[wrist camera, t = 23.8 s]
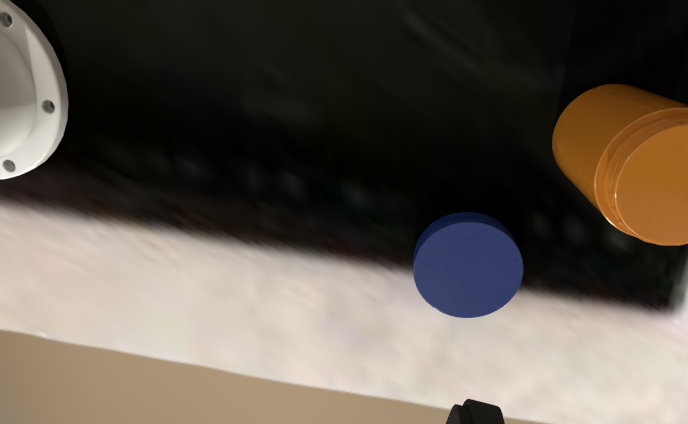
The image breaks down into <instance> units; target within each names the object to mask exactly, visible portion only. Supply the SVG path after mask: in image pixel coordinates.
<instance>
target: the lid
mask: <svg viewBox="0 0 688 424" xmlns="http://www.w3.org/2000/svg"><path fill="white" fill-rule="evenodd" d="M413 267H414V280H415V283H416V286H417V289H418V291H419V293H420V294H421V296H422V297H423V298H424V299H425V300H426V302H427V303H429V304H430V305H431V306H432V307H434V308H435V309H437V310H438V311H440V312H442V313H445V314H447V315H450V316H454V317H461V318H473V317H480V316H484V315H487V314H490V313H492V312H494V311H497V310H498V309H500V308H501V307H503V306H504V305H505V304H507V303H508V302H509V301H510V300H511V299H512V297H513V296H514V295H515V293H516V292H517V290H518V288H519V286H520V284H521V281H522V277H523V260H522V256H521V253H520V251H519V249H518V246H517V244H516V242H515V240H514V238H513V236H512V235H511V233H510V232H509V230H508V229H507V228H506V227H505V226H504V225H503V224H502V223H500V222H499V221H497V220H496V219H494V218H492V217H490V216H487V215H485V214H481V213H476V212H459V213H453V214H449V215H447V216H444V217H442V218H440V219H438V220H436V221H435V222H433V223H432V224H431V225H430V226H428V227H427V228H426V229H425V231H424V232H423V233H422V234H421V236H420V237H419V239H418V241H417V243H416V246H415V250H414V256H413Z"/></svg>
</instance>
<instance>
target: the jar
mask: <svg viewBox="0 0 688 424" xmlns="http://www.w3.org/2000/svg"><path fill="white" fill-rule="evenodd" d="M552 147H553V154H554V157H555V160H556V162H557V165H558V166H559V168H560V169H561V171H562V172H563V173H564V174H565V175H566V176H567V177H568V178H569V179H570V180H571V182H572V183H573V184H574V185H575V186H576V187H577V188H578V189H579V190H580V191H581V192H582V193H583V194H584V195H585V196H586V198H587V199H588V200H589V201H590V202H591V203H592V204H593V205H594V206H595V207H596V208H597V209H598V210H599V211H600V212H601V214H602V215H603V216H604V217H605V218H606V219H607V220H608V221H609V222H610V223H611V224H612V225H613V226H615V227H616V228H618V229H619V230H621V231H622V232H624V233H627V234H629V235H632V236H635V237H637V238H639V239H641V240H643V241H645V242H650V243H654V244H658V245H678V246H679V245H683V244H687V243H688V105H685V104H682V103H679V102H676V101H674V100H671V99H668V98H665V97H662V96H659V95H657V94H654V93H651V92H648V91H645V90H642V89H639V88H637V87H633V86H630V85H625V84H608V85H603V86H599V87H596V88H593V89H591V90H589V91H587V92H585V93H583V94H582V95H580V96H578V97H577V98H576V99H575V100H573V101H572V102H571V103H570V104H569V105H568V106H567V107H566V109H565V110H564V111H563V113H562V114H561V116H560V118H559V119H558V122H557V124H556V126H555V129H554V133H553V141H552Z"/></svg>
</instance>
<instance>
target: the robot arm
mask: <svg viewBox="0 0 688 424" xmlns="http://www.w3.org/2000/svg"><path fill="white" fill-rule="evenodd" d="M67 117H68V95H67V86H66V81H65V78H64V75H63V71H62V68H61V65H60V63H59V60H58V58H57V56H56V54H55V52H54V50H53V48H52V46H51V44H50V43H49V41H48V40H47V38H46V37H45V36H44V34H43V33H42V31H41V30H40V28H39V27H38V26H37V25H36V24H35V23H34V22H33V21H32V20H31V19H30V17H29V16H28V15H27V14H26V13H25V12H24V11H22V10H21V9H20V8H19V7H17V6H16V5H15V4H13V3H12V2H11V1H10V0H0V179H6V178H10V177H14V176H18V175H21V174H23V173H25V172H28V171H30V170H32V169H34V168H36V167H37V166H39V165H40V164H42V163H43V162H44V161H46V160H47V159H48V158H49V157H50V155H51V154H52V153H53V152H54V151H55V150H56V148H57V146H58V144H59V142H60V141H61V139H62V137H63V134H64V130H65V127H66V123H67ZM446 424H505V423H504V419H503V415H502V412H501V409H500V408H499V407H498V406H495V405H491V404H487V403H483V402H479V401H475V400H471V399H467V400H466V401H465V402H464V404H463V406H461V405H457V404H455V405H454V406H453V407H452V409H451V412H450V414H449V417H448V419H447V422H446Z"/></svg>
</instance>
